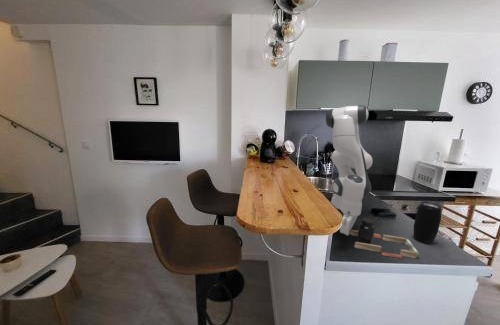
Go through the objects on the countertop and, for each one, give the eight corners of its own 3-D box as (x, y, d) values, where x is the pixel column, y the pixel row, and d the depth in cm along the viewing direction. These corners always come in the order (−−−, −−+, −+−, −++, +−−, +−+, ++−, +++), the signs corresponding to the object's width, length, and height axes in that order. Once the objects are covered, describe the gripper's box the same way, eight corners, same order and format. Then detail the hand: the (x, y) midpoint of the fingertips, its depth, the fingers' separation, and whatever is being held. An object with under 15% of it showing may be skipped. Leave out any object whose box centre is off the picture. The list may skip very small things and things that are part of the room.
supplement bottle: (358, 236, 108) (361, 215, 105) (373, 242, 104) (377, 220, 101) (355, 242, 103) (358, 220, 100) (370, 248, 99) (374, 225, 96)
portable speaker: (408, 233, 112) (415, 199, 108) (429, 236, 109) (437, 202, 105) (415, 242, 104) (423, 206, 100) (438, 246, 101) (447, 209, 97)
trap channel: (349, 230, 114) (349, 226, 114) (403, 238, 107) (404, 234, 107) (355, 250, 97) (356, 245, 97) (420, 262, 90) (422, 257, 90)
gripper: (353, 218, 92) (349, 246, 95) (362, 203, 108) (358, 227, 111) (338, 214, 96) (334, 241, 99) (348, 200, 112) (345, 224, 115)
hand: (347, 233), depth 105 cm, fingers closed
